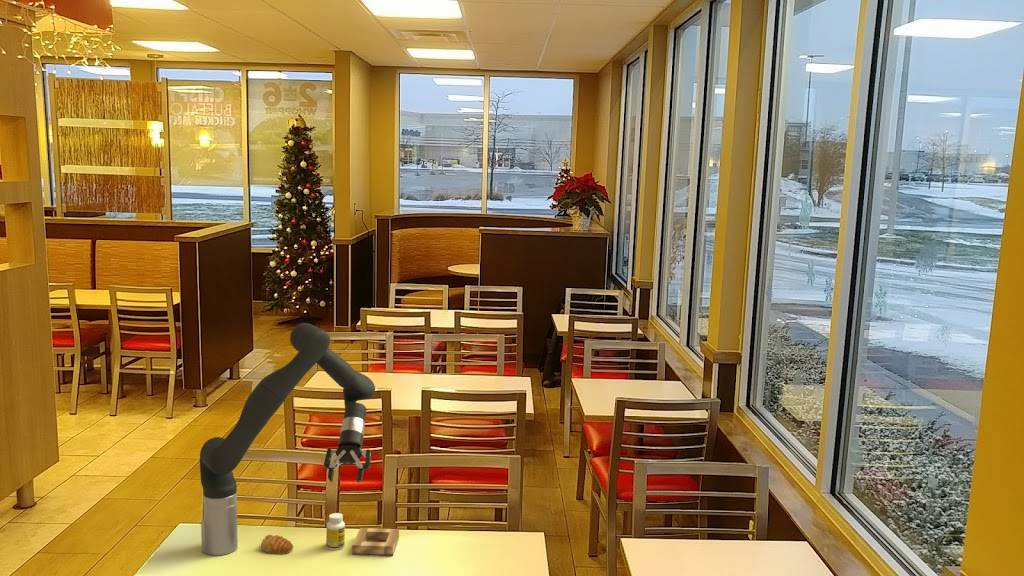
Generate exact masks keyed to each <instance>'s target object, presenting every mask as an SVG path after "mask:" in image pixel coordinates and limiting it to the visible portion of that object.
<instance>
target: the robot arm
mask: <svg viewBox="0 0 1024 576" xmlns="http://www.w3.org/2000/svg"><path fill="white" fill-rule="evenodd" d="M289 340H290V345H291V346H292V347H293V348H294V349H295V350H296V351H297V353H296V355H295V356H293V358H292V359H291V360H290V361H289V362H288V363H286V364H285V365H284V366H281V368H278V369H277V370H274V371H273V372H271V373H269V374H268V375H266V376H265V377H263V379H261V380H260V381H259V382H258V384H257V385H256V386H255V388H253V390H252V391H251V392H250V394H248V396H247V399H246V400H245V402H244V404H243V408H242V409H241V413H240V416H239V418H238V420H237V422H236V424H235V426H234V427H233V429H231V431H230V432H229V433H228V434H227V436H226V437H225V438H224V437H220V436H215V437H211V438H209V439H208V440H206V441H205V442H204V443H203V445H202V447H201V449H200V452H199V472H200V474H199V476H200V483H201V488H202V493H203V519H202V520H201V521H200V522H201V523H200V525H201V526H200V527H201V528H200V529H201V531H200V532H201V534H200V535H201V553H204V554H207V555H209V556H224V555H228V554H232V553H233V552H234V551H236V550H237V549H238V541H239V540H238V491H237V490H238V487H237V481H236V479H235V477H234V473H233V471H234V470H235V469H236V468H237V467H238V465H239V464H240V463H241V461H242V460H243V458H244V456H245V455H246V454H247V451H248V450H249V448H250V447H251V445H252V443H253V442H254V441H255V439H256V438H257V437H258V435H259V434H260V433H261V431H262V430H263V429H264V427H265V426H266V425H267V424H268V422H269V421H270V420H271V418H272V417H273V416H274V415H275V413H277V411H278V410H279V409H280V407H281V406H282V405H283V403H284V402H285V401H286V399H287V398H288V396H289V395H290V394H291V393H292V391H293V390H294V389H295V387H297V385H298V384H299V383H300V381H301V380H302V379H303V378H304V376H306V374H307V373H308V372H309V371H310V370H312V368H313V367H314V366H315V365H316V364H317V365H318V366H319V367H320V368H321V369H322V370H323V371H324V372H325V373H326V374H327V375H328V376H329V377H330V378H331V379H332V380H333V381H334V382H335V383H336V384H337V385H338V386H340V387H341V388H342V394H343V402H344V414H343V420H342V424H341V428H340V434H339V439H338V444H337V449H331V448H330V447H329V448H327V449H326V454H325V458H324V461H323V467H324V468H325V469H327V470H328V473H327V479H328V480H329V482H330V483H331V482H333V481H334V476H335V470H336V469H337V468H338V467H340V466H341V465H342V464H343V465H354V464H355V466H356V467H357V468H358V469H357V474H356V482H357V483H361V481H363V478H364V477H363V476H364V473H365V472H364V471H366V470H367V471H369V470H370V469H371V462H372V459H371V456H372V454H371V450H370V449H366V450H363V449H362V448H363V442H364V436H365V427H366V426H365V424H366V416H367V407H366V406H365V404H363V403H361V402H359V401H364V400H369V399H372V397H374V395H375V393H376V386H375V383H374V381H373V380H372V379H371V378H370V377H368V376H367V375H365V374H363V373H361V372H359V371H357V370H355V369H354V367H352V365H350V363H348V361H346V360H345V359H344V358H343V357H341V356H340V355H339V354H338V353H336V352H334V351H333V350H332V349H330V348H329V347H330V344H331V336H330V334H329V333H328V332H327V331H325V330H323V329H322V328H320V327H318V326H316V325H314V324H311V323H309V322H307V323H306V322H302V323H299V324H296V325H295V327H293V329H292V330H291V332H290V336H289ZM334 456H336V457H335V458H334V459H333V461H332V462H331V460H332V458H333V457H334ZM361 457H364V459H365V462H364V463H365V464H362V463H361V461H360V459H361Z"/></svg>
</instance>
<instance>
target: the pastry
mask: <svg viewBox="0 0 1024 576" xmlns="http://www.w3.org/2000/svg"><path fill="white" fill-rule="evenodd" d="M293 548H294V544H293V543H292V541H290V540H288V539H287V538H285V537H283V536H282V535H281V536H280V535H278V534H275V535H273V534H268V535H265V536H264V538H263V539H262V541H261V543H260V549H261V551H263V552H264V553H266V552H267V553H268V554H273V555H274V554H275V555H276V554H277V555H283V554H289V553H290V552H293Z"/></svg>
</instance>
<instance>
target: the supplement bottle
mask: <svg viewBox="0 0 1024 576" xmlns="http://www.w3.org/2000/svg"><path fill="white" fill-rule="evenodd" d="M343 518H344V517H343V514H342V513H341V512H340V513H339V512H334V513H331V514H329V515H328V521H327V523H326V534H325V535H326V538H325V539H326V540H325V541H326V542H325V543H326V546H325V547H326V549H328V550H331V551H338V550H341V549H343V548H344V547H345V543H346V542H345V540H346V539H345V538H346V537H345V536H346V534H345V533H346V531H345V530H346V524H345V522H344V520H343Z"/></svg>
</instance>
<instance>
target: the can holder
mask: <svg viewBox="0 0 1024 576" xmlns="http://www.w3.org/2000/svg"><path fill="white" fill-rule="evenodd" d="M358 529H359V530H358V532H357V534H356V536H355V538H354V540H353V542H352V545H351V549H352V550H351V555H352V556H377V557H378V556H379V557H394V554H395V551H396V548H397V545H398V542H399V539H400V529H399V528H382V527H381V528H380V527H379V528H375V527H374V528H372V527H360V528H358ZM398 538H399V539H398Z"/></svg>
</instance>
